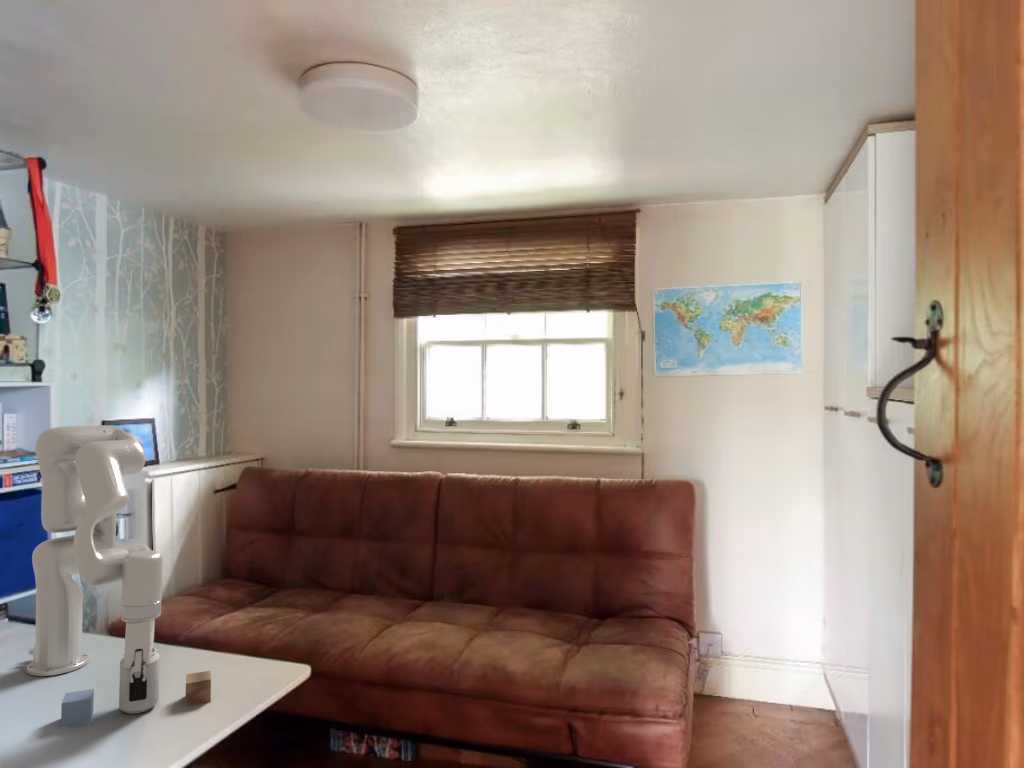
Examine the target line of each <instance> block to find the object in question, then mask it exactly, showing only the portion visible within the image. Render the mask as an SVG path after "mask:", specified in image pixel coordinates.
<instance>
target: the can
mask: <svg viewBox="0 0 1024 768" xmlns="http://www.w3.org/2000/svg"><path fill="white" fill-rule="evenodd" d="M157 650H158V649H157V648H155V647H154V646H153V650H152V655H151V660H150V665H149V666H148V667H146V679H147V697H146V699H144V700H138V701H132V702H130V701H129V683H130V681H131V667H130V669H127V670H125V669H124V657H123V658H121V660H120V662H119V687H118V689H119V692H118V696H119V697H118V709H120V711H123V712H124V713H126V714H139V713H144V712H146V711H148V710H151V709H152V708H154V706H155V705H156V704H157V703H158V702H159V700H160V699H159V697H160V665H161V664H160V662H161V661H160V660H161V658H160V657H161V656H160V654H159V653H158V652H157ZM142 655H143V651H142ZM134 664H135V663H134ZM141 665H144V662H142V663H141ZM133 667H134V666H133ZM141 672H143V669H141Z"/></svg>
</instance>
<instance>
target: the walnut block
mask: <svg viewBox="0 0 1024 768" xmlns="http://www.w3.org/2000/svg"><path fill="white" fill-rule="evenodd" d="M211 689H212V672H211V670H205V671H199V672H193V673H187V674H185V701H184V703H185V707H187V706H189V707H190V706H193V705H199V704H205V703H210V702H212V699H211V696H212V695H211V694H212V690H211Z"/></svg>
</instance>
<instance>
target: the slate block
mask: <svg viewBox="0 0 1024 768" xmlns="http://www.w3.org/2000/svg"><path fill="white" fill-rule="evenodd" d="M94 693H95V689H94V688H89V689H84V690H77V691H70V692H66V693H65V694H64V696H63V699H62V700H61V714H60V715H61V716H60V717H61V718H60V720H61V721H60V722H61V723H60V728H61V727H63V728H67V727H66V726H68V727H73V725H74V726H79V725H78V724H80V725H83V724H82V723H85V724H87V723H86V722H90V723H91V721H92V718H93V715H94V709H95V708H94V707H95V706H94V705H95V701H94V699H95V694H94ZM90 720H91V721H90Z"/></svg>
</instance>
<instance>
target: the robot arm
mask: <svg viewBox="0 0 1024 768" xmlns="http://www.w3.org/2000/svg"><path fill="white" fill-rule="evenodd" d="M35 456H36V460H37V464H38V466H39V470H40V474H41V481H42V483H41V503H40V504H41V511H40V515H41V516H40V517H41V525H42V527H43V530H45V531H46V532H48V533H55V534H57V533H59V534H60V533H67V532H74V531H75V533H74V534H72V535H71V534H70V535H67V536H60V537H55V538H50V539H47V540H44V541H43V542H40V543H39V544H38V545H37V546H36V547H35V548H34V549H33V551H32V556H31V557H32V558H31V562H32V568H33V573H34V579H35V581H34V582H35V594H36V595H35V598H36V599H35V635H34V636H35V638H34V639H35V643H34V646H33V648H30V649H29V650H28V651H27V654H28V655H31V656H33V657H32V658H33V659H32V660H33V661H31V662H30V663H28V665H27V666H26V673H27V674H29V675H30V676H34V677H35V676H36V677H47V676H48V677H51V676H57V675H61V674H66V673H69V672H73V671H76V670H78V669H79V668H82V667H84V666H85V665H86V664H87V663H88V662H89V660H90V659H89V658H90V655H89V654H88V653H87V652H84V651H82V650H83V649H82V647H83V645H82V643H83V607H84V604H83V602H84V598H83V596H84V594H83V589H82V587H81V586H80V585H79V583H78V582H76V580H74V579H73V577H72V576H74V575H79V578H80V580H81V581H82V582H83V583H84V584H85V585H86V586H89V587H92V588H93V587H101V586H105V585H111V584H114V583H118V582H121V583H122V584H121V585H122V586H121V610H120V611H121V613H120V614H121V618H120V620H121V621H122V622H125V624H126V625H125V633H124V634H125V636H124V653H123V658H124V669H125V670H127V669H130V667H131V681H130V683H129V701H130V702H132V701H138V700H144V699H146V697H147V679H146V667H148V666H149V665H150V660H151V655H152V650H153V647H154V643H155V642H154V641H155V623H156V622H155V619H157V618H159V617H160V616H161V615H162V595H163V594H162V592H163V591H162V589H163V561H164V560H163V556H162V553H161V552H159V551H157V550H152V549H151V548H150V547H149V546H148V545H146V544H145V543H132V544H127V545H121V546H116V542H117V541H116V538H117V537H116V535H117V534H116V533H117V512H119V511H121V510H123V509H124V508H125V507H126V506H127V505H128V504H129V502H130V498H131V497H130V494H129V491H128V488H127V486H126V485H127V484H126V481H125V476H124V475H133V474H138V473H140V472H141V471H142V470H143V469H144V467H145V465H146V454H145V451H144V448H143V446H142V445H141V444H140V442H139V441H138V440H137V439H136V438H135V437H133V436H132V435H131V434H129V433H128V432H126V431H125V430H123V429H122V428H120V427H119V426H116V425H106V424H105V425H103V424H101V425H71V426H70V425H69V426H58V427H52V428H48V429H46V430H44V431H42V432H41V433H40V434H39V435H38V437H37V440H36V443H35ZM142 651H143V655H142ZM142 662H144V665H141V663H142ZM134 663H135V664H134ZM133 666H134V667H133ZM141 669H143V672H141Z"/></svg>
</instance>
